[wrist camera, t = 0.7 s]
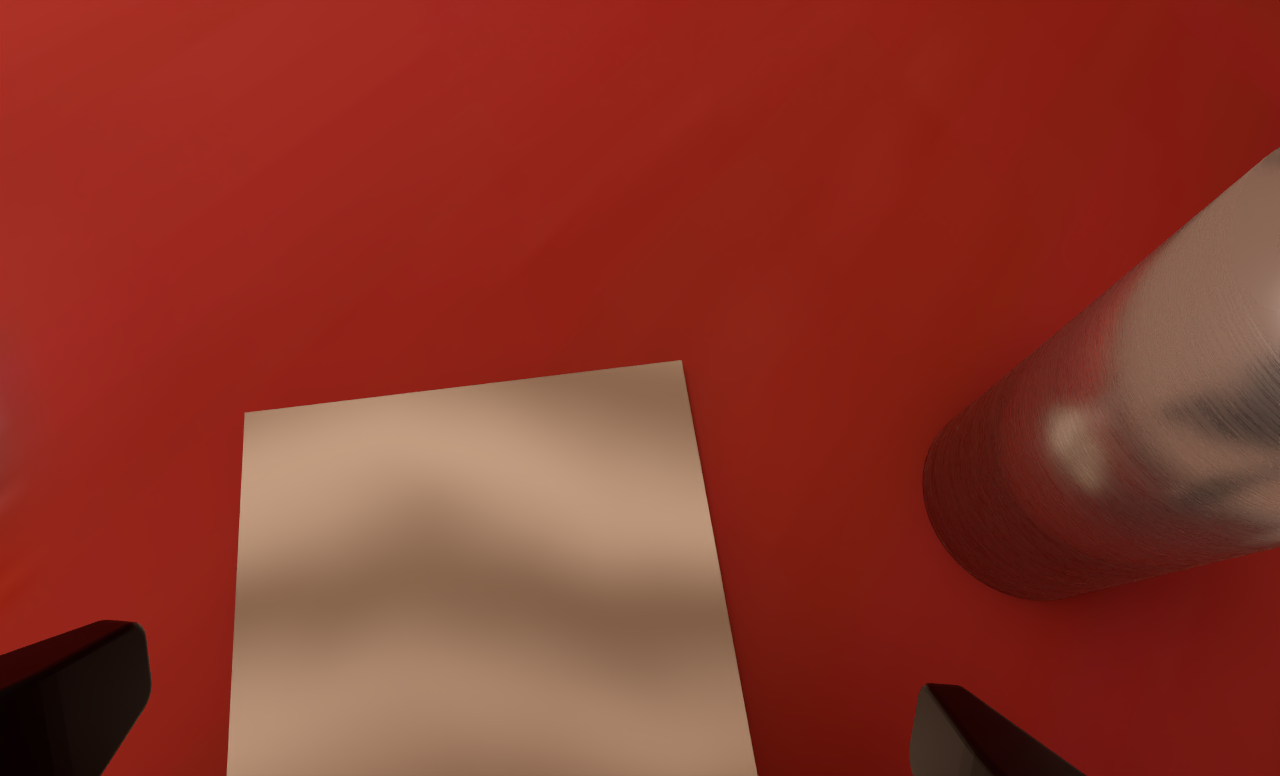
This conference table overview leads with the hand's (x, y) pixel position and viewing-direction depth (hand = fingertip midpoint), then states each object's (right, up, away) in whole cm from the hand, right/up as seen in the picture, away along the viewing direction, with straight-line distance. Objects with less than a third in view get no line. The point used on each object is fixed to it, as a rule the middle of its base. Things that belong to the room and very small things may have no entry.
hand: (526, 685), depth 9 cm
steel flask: (+13, 0, +14) cm, 19 cm away
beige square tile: (-3, -3, +12) cm, 13 cm away
